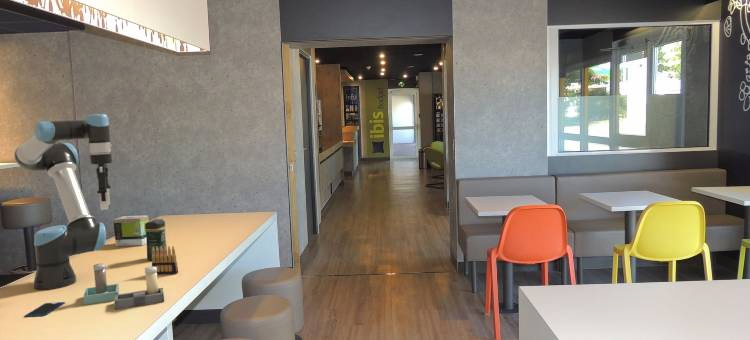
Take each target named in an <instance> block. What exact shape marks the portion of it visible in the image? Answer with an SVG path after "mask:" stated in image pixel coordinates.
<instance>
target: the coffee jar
mask: <svg viewBox="0 0 750 340" xmlns="http://www.w3.org/2000/svg"><path fill="white" fill-rule="evenodd" d="M145 231H146V238H147V243H146V258H147V260H149V261H152V247H154V249H155V255H156V247H158V249H159V255H160V247H162V249H163V255H164V246H165V247H166V249H167V250H168V247H167V240H166V239H167V238H166V221H165V220H164V219H162V218H154V219H151V220H149V222H147V223H146V224H145Z"/></svg>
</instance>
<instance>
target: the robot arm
mask: <svg viewBox="0 0 750 340" xmlns="http://www.w3.org/2000/svg"><path fill="white" fill-rule="evenodd" d="M110 136H111V135H110V122H109V118H108V115H107V114H106V113H94V114H88V115H86V119H77V120H76V119H74V120H45V121H37V122H36V123H35V127H34V134H33V136H32V137H31V138H30V139H28V140H27V142H24V143H22V144H20V145H19V146H18V147H17V148H16V149H15V152H14V160H15V162H16V164H18V166H20V167H21V168H23V169H25V170H28V171H32V172H38V171H46V173H47V175H48V176H49V177H51V178H52V179H53V182H54V184H55V186H56V188H57V193H58V195H59V198H60V200H61V204H62V207H63V208H64V212H65V215H66V218H67V220H68V223H67V224H66V225H64V224H59V225H58V224H57V225H53V226H49V227H45V228H42V229H40V230H38V231H37V232H35V233H34V237H33V238H34V239H33V241H34V242H33V245H34V251H35V260H36V261H35V263H36V271H35V275H34V279H33V288H34V289H35V290H41V291H42V290H53V289H59V288H64V287H67V286H70V285H73V284H75V283H76V282H77V275H76V274H75V271H74V269H73V267H72V265H71V263H70V256H71V257H72V256H74V255H81V254H86V253H92V252H93V253H94V252H95V251H99V250H101V249H103V248H104V246H105V244H106V242H107V229H106V227H105V224H104V223H103V222H100V221H97V219H96V217H95V216H94V215H91V213H90V211H89V207H88V205H87V201H86V200H85V197H84V194H83V192H82V190H81V189H82V188H81V186H80V183H79V181H78V178H77V175H76V172H75V171H76V170H77V167H78V165H79V163H80V162H79V154H78V151H77V149H76V148H75V145H73V144H72V143H69V142H59V141H70V140H86V139H87V140H88V149H89V154H90V156H89V159H90V164H91V165H97V166H98V167H96V169H95V170H96V175H97V176H96V177H97V181H98V184H97V185H98V190H97V191H96V192H97V194H99V206H100V210H101V211H106V210H109V205H111V198H110V189H111V185H110V184H109V174H108V173H109V168H108V166H107V164H112V162H113V159H112V157H113V156H112V154H111V152H112V150H111V148H112V147H113V144H111V138H110Z"/></svg>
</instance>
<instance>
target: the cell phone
mask: <svg viewBox="0 0 750 340" xmlns="http://www.w3.org/2000/svg"><path fill="white" fill-rule="evenodd" d="M64 304H66V302H65V301H58V302H55V301H54V302H45V303H43V304H41V305H39V306H38V307H36V308H34V309H33V310H32V311H29V312H27V314H25V315H23V317H24V318H36V317H37V318H38V317H39V318H40V317H41V318H42V317H46V316H47V315H49V314H50V313H53V312H54V311H55V310H57V309H59V308H60V307H62V306H63V305H64Z"/></svg>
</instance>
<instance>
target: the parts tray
mask: <svg viewBox="0 0 750 340" xmlns="http://www.w3.org/2000/svg"><path fill="white" fill-rule="evenodd" d="M107 291H108V293H102V294H96V287H95V286H92V287H86V288H85V291H84V294H83V295H82V296H83V304H84V306H86V305H93V304H101V303H107V302H115V295H117V294H120V286H119V283H115V284H107Z"/></svg>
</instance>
